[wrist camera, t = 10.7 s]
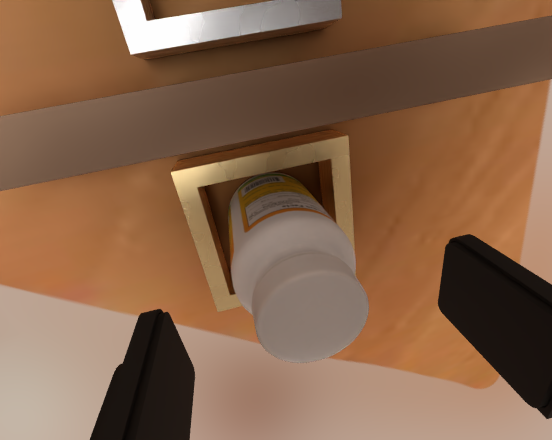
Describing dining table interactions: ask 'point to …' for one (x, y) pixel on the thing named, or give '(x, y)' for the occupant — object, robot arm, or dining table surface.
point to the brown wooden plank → (268, 101)
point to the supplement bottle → (293, 270)
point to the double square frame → (252, 159)
